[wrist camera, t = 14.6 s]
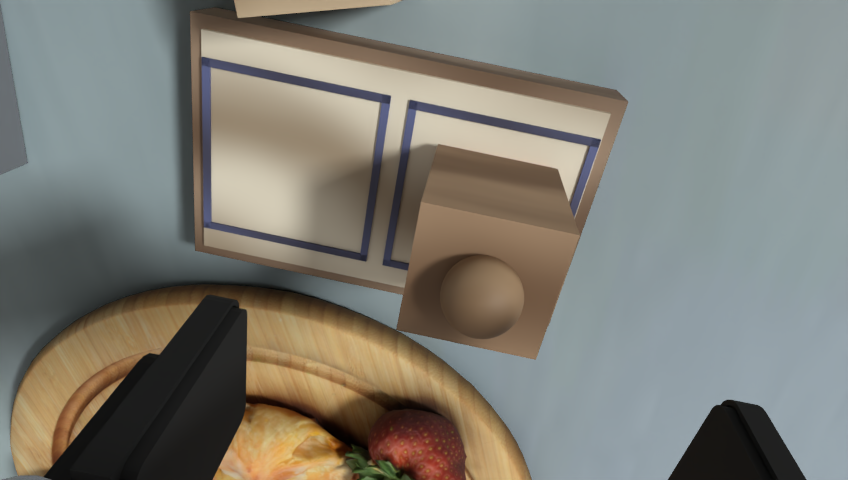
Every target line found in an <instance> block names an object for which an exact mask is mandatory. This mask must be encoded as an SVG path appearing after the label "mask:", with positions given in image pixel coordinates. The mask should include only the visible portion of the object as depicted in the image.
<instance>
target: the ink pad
mask: <svg viewBox="0 0 848 480" xmlns="http://www.w3.org/2000/svg"><path fill="white" fill-rule="evenodd" d="M27 163H28V162H27V156H26V150H25V144H24V139H23V133H22V127H21V121H20V116H19V110H18V104H17V98H16V93H15V87H14V81H13V75H12V70H11V64H10V58H9V52H8V47H7V41H6V35H5V29H4V24H3V18H2V12H1V6H0V175H1V174H3V173H6V172H8V171H10V170H13V169H15V168H17V167H20V166H22V165H24V164H27Z"/></svg>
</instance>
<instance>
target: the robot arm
mask: <svg viewBox="0 0 848 480" xmlns="http://www.w3.org/2000/svg"><path fill="white" fill-rule="evenodd" d="M246 366H247V310H246V309H242V308H239V302H238V301H237V300H235V299H230V298H225V297H220V296H215V295H210V294H209V295H206V296H205V297H204V298H203V300H202V301H201V302H200V304H199V305H198V306H197V307H196V309H195V310H194V311H193V313H192V314H191V315H190V316H189V318H188V319H187V320H186V321H185V323H184V324H183V325H182V327H181V328H180V329H179V330H178V332H177V333H176V334H175V335H174V337H173V338H172V339H171V341H170V342H169V343H168V344H167V346H166V347H165V348H164V350H163V351H162V352H161V353H160V355H159V354H153V353H149V354H146V355H144V356H143V357H142V358H141V359H140V360H139V361H138V362H137V363H136V365H135V366H134V367H133V368H132V370H131V371H130V372H129V373H128V374H127V376H126V377H125V378H124V379H123V381H122V382H121V383H120V384H119V385H118V387H117V388H116V389H115V390H114V391H113V393H112V394H111V395H110V396H109V398H108V399H107V400H106V401H105V402H104V404H103V405H102V406H101V407H100V409H99V410H98V411H97V412H96V413H95V415H94V416H93V417H92V418H91V419H90V421H89V422H88V423H87V424H86V426H85V427H84V428H83V429H82V430H81V432H80V433H79V434H78V435H77V437H76V438H75V439H74V440H73V441H72V443H71V444H70V445H69V446H68V447H67V449H66V450H65V451H64V452H63V454H62V455H61V456H60V457H59V458H58V460H57V461H56V462H55V463H54V465H53V466H52V467H51V468H50V469H49V471H48V472H47V473H46V474H45V475H44V477H41V476H38V475H20V476H15V477H11V478H7V479H2V480H213V478H214V476H215V474H216V472H217V470H218V468H219V466H220V464H221V462H222V460H223V458H224V456H225V454H226V452H227V450H228V448H229V446H230V444H231V442H232V440H233V438H234V436H235V434H236V432H237V430H238V428H239V426H240V424H241V422H242V419H243V416H244V413H245V408H246ZM668 480H806V478H805V477H804V475H803V473H802V472H801V470H800V468H799V467H798V465H797V463H796V462H795V460H794V458H793V457H792V455H791V453H790V452H789V450H788V448H787V447H786V445H785V443H784V442H783V440H782V438H781V437H780V435H779V433H778V432H777V430H776V428H775V427H774V425H773V423H772V422H771V420H770V418H769V417H768V415H767V413H766V412H765V411H764V409H763V408H762V407H760V406H758V405H754V404H749V403H744V402H739V401H734V400H726V401H724V402H723V403H722V404H721V405H716V406H714V407H713V408H712V410H711V411H710V413H709V415H708V416H707V418H706V419H705V421H704V423H703V424H702V426H701V427H700V429H699V431H698V432H697V434H696V435H695V437H694V439H693V440H692V442H691V443H690V445H689V447H688V448H687V450H686V452H685V453H684V455H683V456H682V458H681V460H680V461H679V463H678V464H677V466H676V468H675V469H674V471H673V472H672V474H671V476H670V477H669V479H668Z"/></svg>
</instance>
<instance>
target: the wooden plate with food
mask: <svg viewBox="0 0 848 480" xmlns="http://www.w3.org/2000/svg"><path fill="white" fill-rule="evenodd" d="M209 294H210V295H215V296H220V297H225V298H230V299H235V300H237V301H238V302H239V308H242V309H246V310H247V366H246V408H245V413H244V416H243V419H242V422H241V424H240V426H239V428H238V430H237V432H236V434H235V436H234V438H233V440H232V442H231V444H230V446H229V448H228V450H227V452H226V454H225V456H224V458H223V460H222V462H221V464H220V466H219V468H218V470H217V472H216V474H215V476H214V478H213V480H532V479H531V476H530V473H529V470H528V467H527V465H526V462H525V459H524V457H523V454H522V452H521V450H520V448H519V446H518V444H517V442H516V440H515V439H514V437H513V435H512V434H511V432H510V430H509V429H508V427H507V426H506V425H505V423H504V422H503V421H502V419H501V418H500V417H499V415H498V414H497V413H496V412H495V410H494V409H493V408H492V406H491V405H490V404H489V403H488V402H487V401H486V400H485V398H484V397H483V396H482V395H481V394H480V393H479V392H478V391H477V390H476V388H475V387H474V386H473V385H472V384H471V383H470V382H468V381H467V380H466V379H465V378H463V377H462V376H461V375H460V374H459V373H457V372H456V371H455V370H454V369H453V368H452V367H450V366H449V365H448V364H447V363H446V362H445V361H443V360H442V359H441V358H439V357H438V356H436V355H435V354H434V353H432V352H431V351H429V350H428V349H426V348H425V347H423V346H422V345H420V344H419V343H417V342H415V341H414V340H412V339H411V338H409V337H407V336H406V335H404V334H402V333H400V332H398V331H396V330H394V329H392V328H390V327H388V326H386V325H384V324H382V323H380V322H377V321H375V320H373V319H371V318H368V317H366V316H363V315H361V314H359V313H356V312H354V311H351V310H349V309H346V308H344V307H341V306H338V305H335V304H332V303H329V302H326V301H323V300H320V299H317V298H313V297H309V296H305V295H301V294H297V293H293V292H288V291H281V290H275V289H269V288H261V287H250V286H235V285H212V284H205V285H185V286H175V287H167V288H161V289H155V290H150V291H145V292H142V293H138V294H135V295H131V296H128V297H125V298H122V299H119V300H117V301H114V302H111V303H108V304H106V305H104V306H102V307H100V308H98V309H96V310H94V311H92V312H90V313H88V314H87V315H85V316H83V317H81V318H80V319H78V320H76V321H75V322H73V323H72V324H71V325H69V326H68V327H67V328H65V329H64V330H63V331H61V332H60V333H59V334H58V335H57V336H56V337H55V338H53V339H52V340H51V341H50V342H49V343H48V344H47V345H46V346H45V347H43V349H42V350H41V351H40V352H39V353H38V355H37V356H36V357H35V358H34V359H33V361H32V363H31V364H30V366H29V368H28V369H27V371H26V373H25V375H24V377H23V379H22V381H21V383H20V385H19V387H18V391H17V394H16V397H15V400H14V404H13V410H12V416H11V431H10V444H11V451H12V456H13V460H14V464H15V468H16V471H17V474H18V476H20V475H38V476H41V477H44V475H45V474H46V473H47V472H48V471H49V469H50V468H51V467H52V466H53V465H54V463H55V462H56V461H57V460H58V458H59V457H60V456H61V455H62V454H63V452H64V451H65V450H66V449H67V447H68V446H69V445H70V444H71V443H72V441H73V440H74V439H75V438H76V437H77V435H78V434H79V433H80V432H81V430H82V429H83V428H84V427H85V426H86V424H87V423H88V422H89V421H90V419H91V418H92V417H93V416H94V415H95V413H96V412H97V411H98V410H99V409H100V407H101V406H102V405H103V404H104V402H105V401H106V400H107V399H108V398H109V396H110V395H111V394H112V393H113V391H114V390H115V389H116V388H117V387H118V385H119V384H120V383H121V382H122V381H123V379H124V378H125V377H126V376H127V374H128V373H129V372H130V371H131V370H132V368H133V367H134V366H135V365H136V363H137V362H138V361H139V360H140V359H141V358H142V357H143V356H144V355H146V354H149V353H153V354H159V355H160V353H161V352H162V351H163V350H164V348H165V347H166V346H167V344H168V343H169V342H170V341H171V339H172V338H173V337H174V335H175V334H176V333H177V332H178V330H179V329H180V328H181V327H182V325H183V324H184V323H185V321H186V320H187V319H188V318H189V316H190V315H191V314H192V313H193V311H194V310H195V309H196V307H197V306H198V305H199V304H200V302H201V301H202V300H203V298H204V297H205V296H206V295H209Z"/></svg>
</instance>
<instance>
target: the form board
mask: <svg viewBox="0 0 848 480" xmlns="http://www.w3.org/2000/svg"><path fill="white" fill-rule="evenodd" d="M190 34H191V80H192V125H193V171H194V216H195V251H200V252H204V253H209V254H214V255H218V256H223V257H228V258H232V259H237V260H242V261H247V262H251V263H256V264H261V265H265V266H270V267H275V268H279V269H284V270H289V271H294V272H298V273H303V274H308V275H312V276H317V277H322V278H327V279H331V280H336V281H341V282H345V283H350V284H355V285H359V286H364V287H369V288H374V289H378V290H383V291H388V292H392V293H397V294H402V295H403V293H404V288H405V283H406V277H407V272H408V267H409V262H410V257H411V252H412V246H413V241H414V236H415V231H416V226H417V221H418V215H419V210H420V205H421V201H422V197H423V194H424V190H425V187H426V183H427V180H428V176H429V173H430V169H431V166H432V162H433V159H434V155H435V152H436V149H437V145H438V144H441V145H446V146H451V147H456V148H461V149H466V150H470V151H475V152H480V153H485V154H490V155H494V156H499V157H504V158H509V159H514V160H518V161H523V162H528V163H533V164H538V165H542V166H547V167H551V168H556V169H558V171H559V174H560V177H561V180H562V183H563V186H564V189H565V192H566V195H567V198H568V201H569V204H570V207H571V210H572V213H573V216H574V219H575V222H576V225H577V228H578V231H579V234H580V236H581V233H582V230H583V227H584V225H585V222H586V219H587V216H588V213H589V211H590V208H591V205H592V202H593V199H594V197H595V194H596V191H597V188H598V185H599V183H600V180H601V177H602V174H603V171H604V169H605V166H606V163H607V160H608V157H609V155H610V152H611V149H612V146H613V143H614V141H615V138H616V135H617V132H618V129H619V127H620V124H621V121H622V118H623V115H624V113H625V110H626V107H627V104H628V101H627V100H626V99H625V98H624V97H623V96H622V95H621V94H620V93H619V92H618V91H617V90H613V89H608V88H604V87H599V86H594V85H589V84H584V83H579V82H575V81H570V80H565V79H560V78H555V77H550V76H545V75H541V74H536V73H531V72H526V71H521V70H516V69H512V68H507V67H502V66H497V65H492V64H487V63H482V62H478V61H473V60H468V59H463V58H458V57H453V56H449V55H444V54H439V53H434V52H429V51H424V50H419V49H415V48H410V47H405V46H400V45H395V44H390V43H386V42H381V41H376V40H371V39H366V38H361V37H356V36H352V35H347V34H342V33H337V32H332V31H327V30H323V29H318V28H313V27H308V26H303V25H298V24H293V23H289V22H284V21H279V20H274V19H269V18H264V17H260V16H256V17H244V18H238V16H237V12H235V11H230V10H226V9H221V8H216V7H214V8H207V9H201V10H195V11H190ZM579 239H580V237H579ZM579 239H578V241H579ZM577 244H578V242H577ZM576 247H577V245H576ZM575 250H576V248H575ZM574 253H575V251H574ZM574 253H573V256H574ZM573 256H572V258H573ZM571 261H572V259H571ZM570 264H571V262H570ZM569 267H570V265H569ZM569 267H568V270H569ZM568 270H567V272H568ZM566 275H567V273H566ZM565 278H566V276H565ZM564 281H565V279H564ZM563 284H564V282H563ZM563 284H562V286H563ZM561 289H562V287H561ZM560 292H561V290H560ZM559 295H560V293H559ZM558 298H559V296H558ZM558 298H557V300H558ZM556 303H557V301H556ZM555 306H556V304H555ZM554 309H555V307H554ZM553 312H554V310H553ZM553 312H552V314H553ZM551 317H552V315H551ZM550 320H551V318H550ZM549 323H550V321H549ZM548 326H549V324H548Z"/></svg>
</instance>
